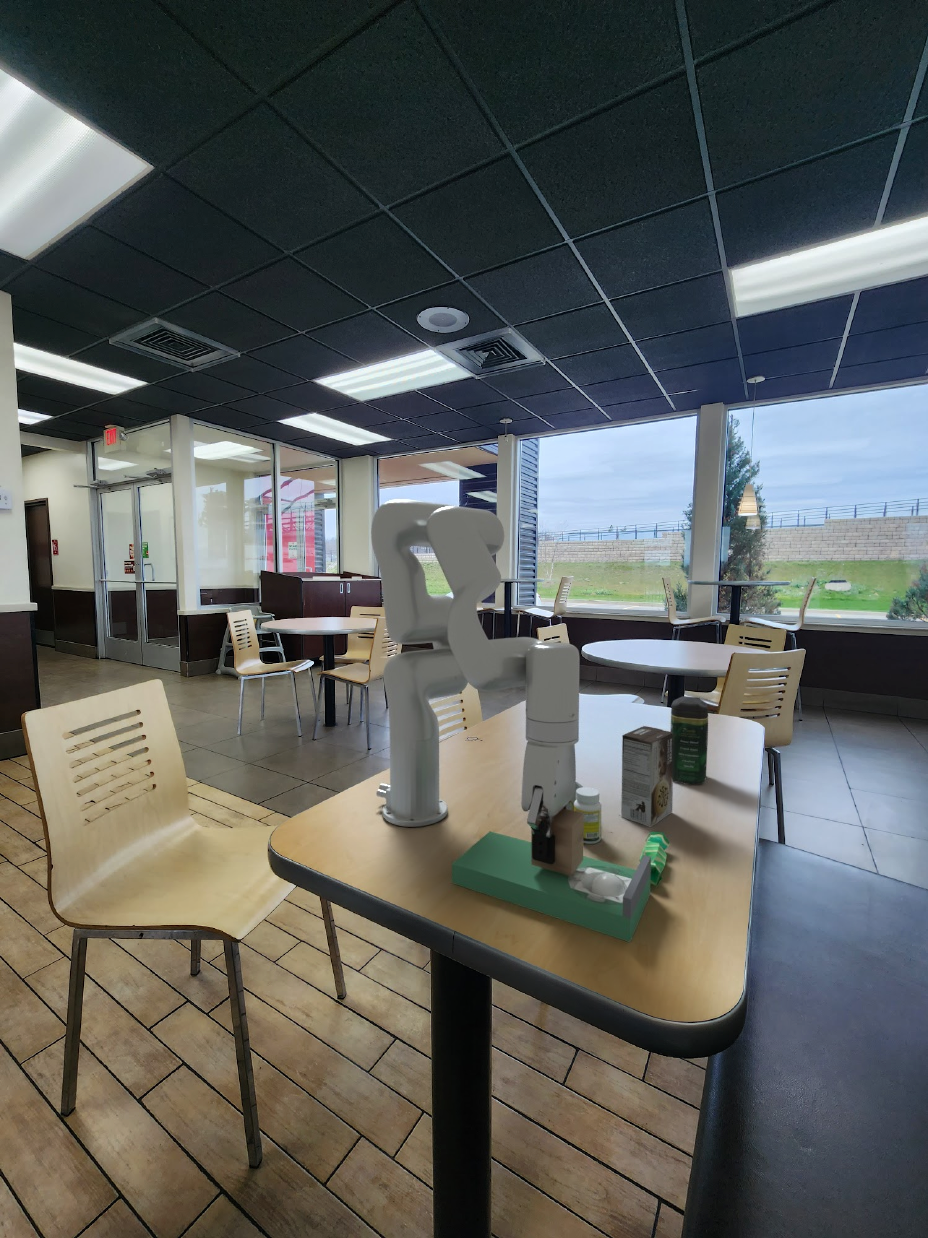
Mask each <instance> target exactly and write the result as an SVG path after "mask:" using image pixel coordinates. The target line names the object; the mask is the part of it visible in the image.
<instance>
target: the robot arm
mask: <svg viewBox="0 0 928 1238" xmlns="http://www.w3.org/2000/svg"><path fill="white" fill-rule="evenodd" d="M370 535H371V536H370V538H371V545H372V551H373V554H374V556H375V559H376V563H377V565H378V569H379V573H380V580H381V588H382V589H381V590H382V597H383V609H384V615H385V616H384V617H385V624H386V630H387V634H388V636H389V639H390V640H391V641H392V642H393V643H396V644H400V645H417V644H418V645H419V644H420V645H421V644H427V643H428V644H431V643H432V646H433V649H421V650H412V651H411V650H410V651H404V652H400V653H398V654H396V655H394V656H393V657H391V658H389V659H388V661H387V662H386V664H385V666H384V668H383V673H382V674H383V675H382V676H383V684H384V685H383V686H384V690H385V693H386V700H387V705H388V706H387V707H388V708H387V709H388V718H389V719H388V721H389V722H388V723H389V724H388V725H389V727H388V728H389V783H385V782H381V783H380V784H379V786H378V787H379V788H378V789H377V790H376V796H377V797H379V798H383V799H385V804H384V805H383V807H382V810H381V811H382V814H383V815H382V817H383V818H385V819H386V820H385V819H384V820H385V821H387V822H388V823H390V824H392V825H395V826H399V827H400V826H401V827H407V828H408V827H409V828H410V827H411V828H412V827H413V828H414V827H424V826H430V825H432V824H433V825H434V824H436V823H438V822H440V821H442V820H443V819H445V818H446V816H447V815H448V804H447V802H446V801H444V800H442V799H441V798H440V723H439V719H438V717H437V714H436V712H435V710H434V709H433V708H432V706H431V704H430V702H429V700H434V699H439V698H442V697H443V698H444V697H449V696H453V695H458V694H459V693H461V692H463V691H464V690H465V689H466V688H467V686H468V684H469V685H470V686H471V687H473V688H474V689H475V690H478V691H480V692H489V693H490V692H495V691H496V692H497V691H501V690H505V689H506V690H507V689H512V688H518V687H525V740H526V741H527V742H526V745H525V750H524V756H523V757H524V759H523V765H522V766H523V767H522V781H521V802H520V803H521V810H522V811H523V812H528V813H527V819H526V824H527V825H528V826H530V829H531V831H530V833H532V858H533V859H534V860H537V861H540V862H544V863H547V864H551V865H552V864H553V863H554V862H555V836H554V835H552V834H553V824H554V816H555V815H556V814H557V813H558V812H559V811H561V810H562V809H567V810H570V809H569V803H570V800H571V799H572V798H573V796H574V793H575V784H576V782H577V779H576V778H577V776H576V774H577V771H576V768H577V766H576V762H577V761H576V746H575V745H576V744H577V743H579V739H580V737H579V735H580V733H579V727H580V726H579V723H580V722H579V721H580V720H579V719H580V651H579V649H578V648H577V646H575V645H573V644H571V643H566V642H558V641H557V642H555V641H549V642H548V641H544V640H541V639H538V638H535V637H530V636H519V637H505V638H495V639H494V638H493V639H489V638H488V636H487V635H486V633H485V631H484V629H483V626H482V624H481V622H480V619H479V616H478V615H479V614H478V609H477V607H478V606H477V605H478V604H479V603H480V602H482V601H484V600H485V599H487V598H489V597H490V596H491V595H492V594H493V593H494V592H496V590H498V588H499V587H500V585H501V583H502V575H501V572H500V569H499V567H498V566H497V564H496V562H495V560H494V558H493V556H495V555H496V554H498V553H499V551H500V550H501V549H502V547H503V545H504V542H505V529H504V526H503V524H502V521H501V519H499V517H498V515H496V514H495V513H494V512H492V511H490V510H488V509H481V508H472V507H466V506H458V505H452V504H445V503H437V502H429V501H423V500H416V499H402V498H400V499H391V500H389V501H386V502H384V503H382V504H381V505H380V506H378V508H377V509H376V511H375V512H374V515H373V519H372V522H371V531H370ZM411 547H422V548H432V550H433V553H434V556H435V558H436V560H437V562H438V564H439V566H440V569H441V571H442V573H443V575H444V577H445V580H446V582H447V584H448V586H449V588H450V591H451V593H452V596H453V598H452V597H451V596H448V595H444V594H429V592H428V589H427V582H426V573H425V570H424V568H423V566H422V564H421V562H420V560H419V559H418V558H419V557H417V555H415V553H414V552H413V551H412V550H411ZM542 807H543V808H547V809H548V812H545V811H541V810H542ZM540 816H541V817H546V818H548V820H547V825H546V824H545V822H543V821H541V819H540Z"/></svg>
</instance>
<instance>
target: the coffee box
mask: <svg viewBox="0 0 928 1238" xmlns="http://www.w3.org/2000/svg"><path fill="white" fill-rule="evenodd" d="M621 742H622V745H621V747H622V750H621V753H622V754H621V757H622V758H621V811H620V813H621V815H620V816H621V818H623V819H627V820H629V821H632V822H634V823H638V824H641V825H644V826H646V827H649V828H650V827H651V828H652V827H653V826H655V825H656V824H658V823H659V822H660V821H662V820H663V819H665V818H666V817H667V816H669V815H670V814H671V813H673V796H674V795H673V792H674V791H673V790H674V787H673V785H674V782H673V781H674V780H673V732H670V731H669V730H664V729H661V728H657V727H651V726H647V725H642V726H640V727H639V728H636V729H633V730H632V731H628V732H627V733H625V734H624V733H623V734H622V740H621Z"/></svg>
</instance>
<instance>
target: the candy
mask: <svg viewBox="0 0 928 1238" xmlns="http://www.w3.org/2000/svg"><path fill="white" fill-rule="evenodd" d="M669 845H670V841H669V839H668V838H667V836H666V835H665V833H664V832H659V831H651V832H650V833H649V835H648V836H647V837H646V838H645V845H644V847H643V849H642V851H641V854H640V858H639V862H640V861H641V859H642V857H643V855H646V856H650V857H651V879H650V884H651V885H653V886H654V887H655V889H656V888H657V887H658V885H659V884H660V882H661V881H662V880H663V877H662V872H663V870H664V868H665V866H666V861H667V856H668V855H667V853H666V852H665V850H666V849H667V848H668V847H669Z"/></svg>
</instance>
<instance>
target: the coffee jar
mask: <svg viewBox="0 0 928 1238" xmlns="http://www.w3.org/2000/svg"><path fill="white" fill-rule="evenodd" d="M708 705H709V704H707V702H706V701H704V700H703V699H701V698H700V697H695V696H693V697H692V696H684V695H683V696H681V697H678V698H676V699H674V700H673V701H672V703H671V705H670V708H671V710H670V731H669V732H673V781H677V782H679V783H681V784H684V783H685V785H697V784H699V785H702V784H704V783H705V781H706V779H707V768H708V767H707V766H708V765H707V763H708V762H707V761H708V741H709V707H708Z"/></svg>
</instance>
